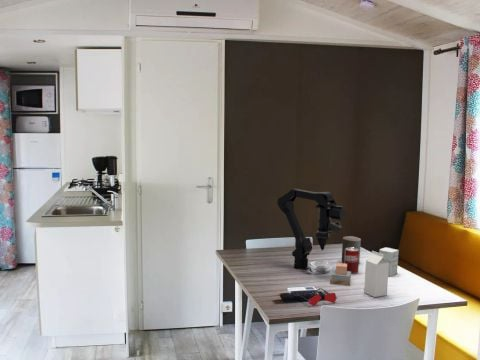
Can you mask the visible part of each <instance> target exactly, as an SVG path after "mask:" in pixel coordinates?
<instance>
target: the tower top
mask: <svg viewBox="0 0 480 360" xmlns="http://www.w3.org/2000/svg"><path fill="white" fill-rule="evenodd" d="M351 275H352V274H351V272H350V271H347V275H340V274H336V269H334V270H333V271H332V274H331V276H332V280H339V281H348V282H349V281H350V282H351V280H350V277H351Z"/></svg>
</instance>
